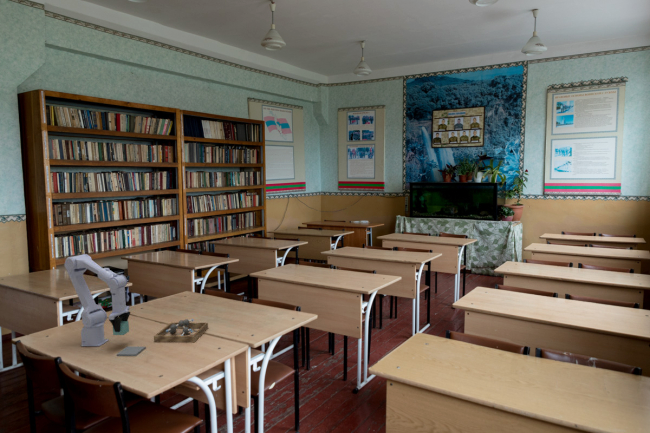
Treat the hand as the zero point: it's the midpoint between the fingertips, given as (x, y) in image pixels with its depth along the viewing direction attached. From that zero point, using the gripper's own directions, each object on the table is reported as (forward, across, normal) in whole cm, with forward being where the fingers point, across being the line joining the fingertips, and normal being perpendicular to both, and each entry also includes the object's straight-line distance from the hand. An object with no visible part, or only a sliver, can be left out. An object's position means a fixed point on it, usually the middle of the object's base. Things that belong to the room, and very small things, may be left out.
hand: (120, 329), depth 205 cm
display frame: (+8, +16, -23) cm, 29 cm away
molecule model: (+9, +19, -21) cm, 30 cm away
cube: (+2, 0, 0) cm, 2 cm away
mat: (+8, -6, -8) cm, 13 cm away
